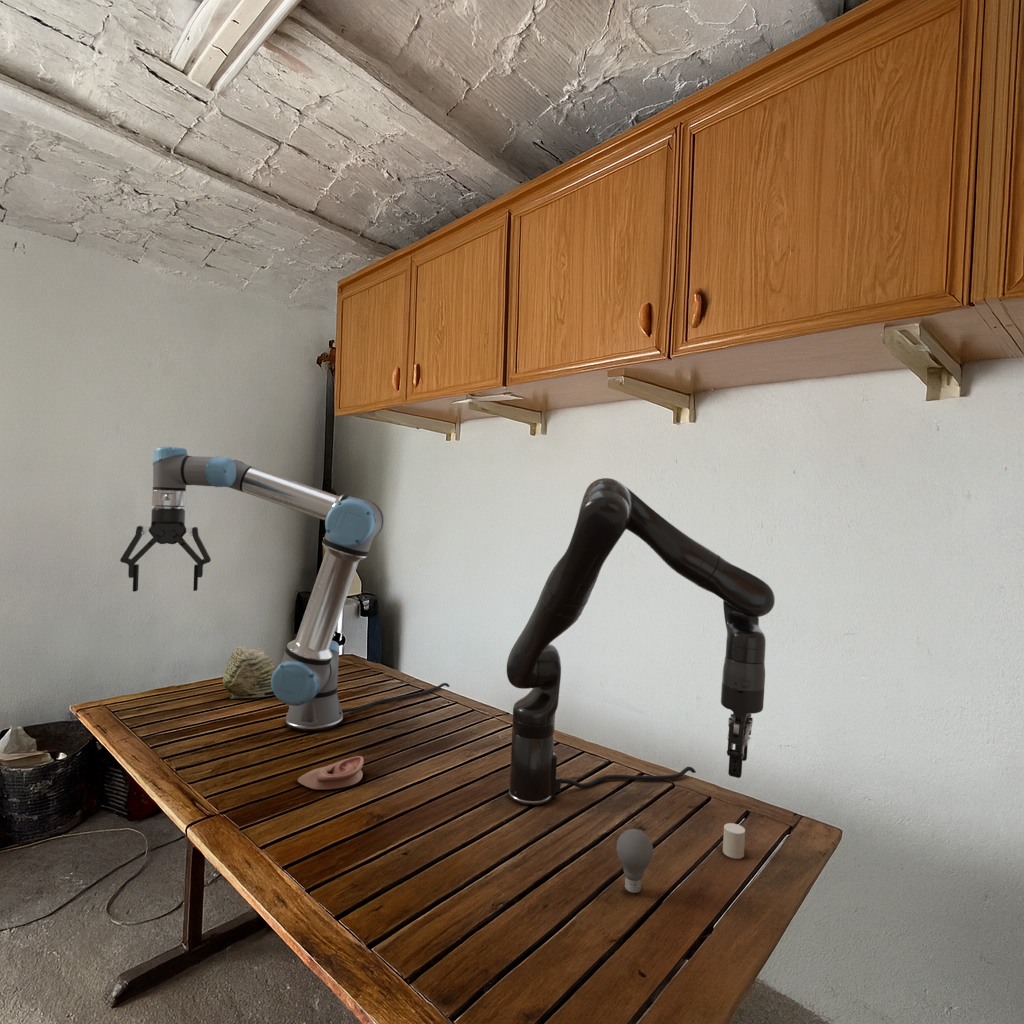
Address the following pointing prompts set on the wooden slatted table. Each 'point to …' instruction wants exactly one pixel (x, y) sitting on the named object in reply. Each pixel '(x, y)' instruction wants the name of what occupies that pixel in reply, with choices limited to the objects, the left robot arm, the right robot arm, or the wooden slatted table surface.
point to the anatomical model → (334, 775)
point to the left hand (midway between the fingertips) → (165, 590)
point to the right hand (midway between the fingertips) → (737, 767)
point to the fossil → (249, 673)
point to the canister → (734, 840)
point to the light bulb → (634, 857)
